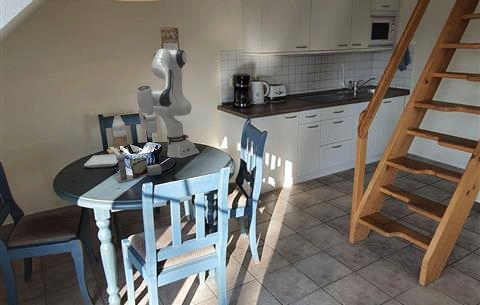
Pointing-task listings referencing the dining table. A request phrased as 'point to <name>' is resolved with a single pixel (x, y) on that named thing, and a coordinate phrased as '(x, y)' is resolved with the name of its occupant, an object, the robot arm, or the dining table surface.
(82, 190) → the dining table surface
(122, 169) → the rack post
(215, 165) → the dining table surface
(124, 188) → the dining table surface
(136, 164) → the food container
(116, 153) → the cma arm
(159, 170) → the block
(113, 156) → the salad plate
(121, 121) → the fruit juice
